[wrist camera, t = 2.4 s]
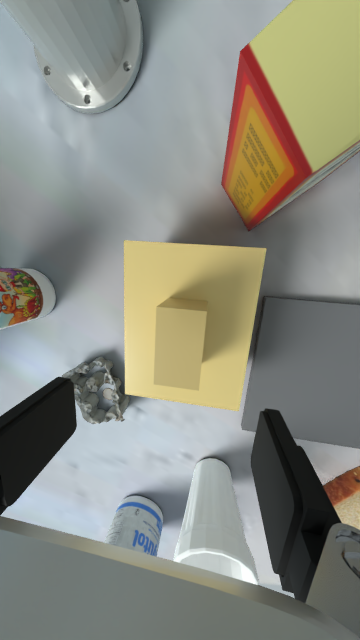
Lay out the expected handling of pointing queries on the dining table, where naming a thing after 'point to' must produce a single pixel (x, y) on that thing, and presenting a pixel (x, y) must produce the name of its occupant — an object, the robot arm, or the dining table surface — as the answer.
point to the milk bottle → (24, 296)
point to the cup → (214, 526)
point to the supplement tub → (136, 525)
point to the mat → (308, 369)
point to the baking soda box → (294, 106)
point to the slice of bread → (346, 496)
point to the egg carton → (93, 384)
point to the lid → (189, 320)
